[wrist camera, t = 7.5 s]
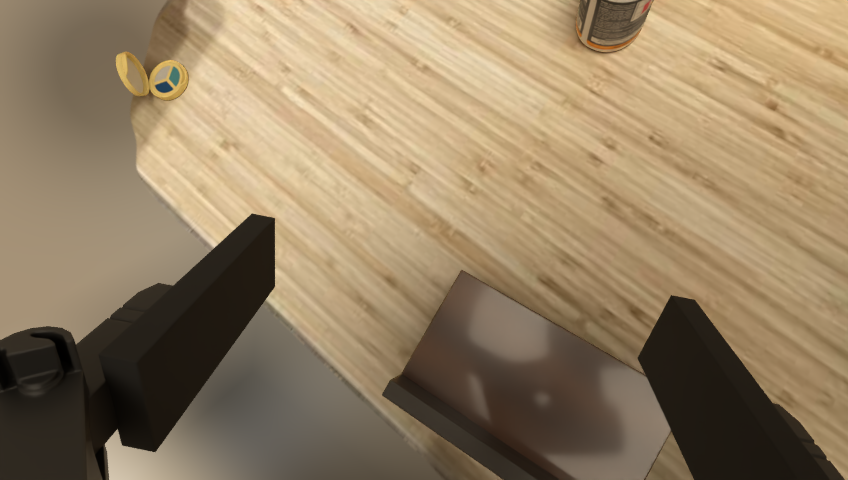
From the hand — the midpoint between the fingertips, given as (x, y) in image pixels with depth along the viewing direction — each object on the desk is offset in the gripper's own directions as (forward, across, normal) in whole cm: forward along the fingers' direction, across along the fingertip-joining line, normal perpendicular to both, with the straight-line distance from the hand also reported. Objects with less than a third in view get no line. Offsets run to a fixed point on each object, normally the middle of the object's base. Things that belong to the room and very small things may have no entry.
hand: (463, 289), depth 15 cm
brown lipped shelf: (+15, +9, -18) cm, 25 cm away
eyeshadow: (+36, -33, -4) cm, 49 cm away
